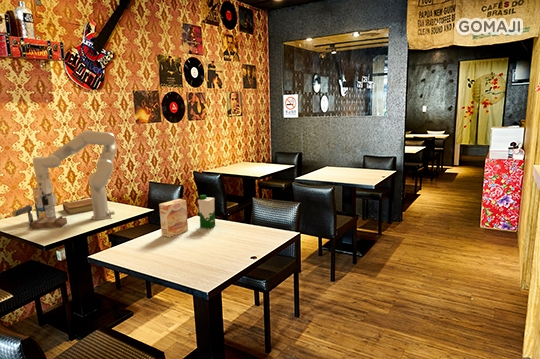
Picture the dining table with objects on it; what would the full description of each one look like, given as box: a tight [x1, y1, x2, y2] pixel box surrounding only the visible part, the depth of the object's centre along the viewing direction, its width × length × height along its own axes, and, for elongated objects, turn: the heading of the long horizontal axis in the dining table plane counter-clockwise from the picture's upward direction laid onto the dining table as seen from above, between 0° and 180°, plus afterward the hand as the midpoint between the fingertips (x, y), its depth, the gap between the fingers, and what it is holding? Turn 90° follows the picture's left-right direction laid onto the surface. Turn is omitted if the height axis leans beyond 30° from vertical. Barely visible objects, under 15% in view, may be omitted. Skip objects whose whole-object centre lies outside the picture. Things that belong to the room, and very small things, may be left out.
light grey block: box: [37, 193, 58, 206], centre depth 245 cm, size 9×5×7 cm, turn 96°
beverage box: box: [32, 187, 57, 220], centre depth 261 cm, size 7×11×22 cm, turn 61°
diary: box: [62, 198, 93, 216], centre depth 286 cm, size 23×19×6 cm
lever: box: [11, 204, 33, 218], centre depth 238 cm, size 16×3×3 cm, turn 178°
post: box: [27, 209, 34, 229], centre depth 246 cm, size 4×4×11 cm
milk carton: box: [197, 194, 216, 229], centre depth 238 cm, size 9×9×20 cm
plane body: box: [31, 215, 68, 230], centre depth 248 cm, size 18×9×5 cm, turn 96°
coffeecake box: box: [158, 198, 189, 238], centre depth 227 cm, size 15×7×20 cm, turn 143°
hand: (47, 203), depth 245 cm, fingers closed on light grey block, 5 cm apart
